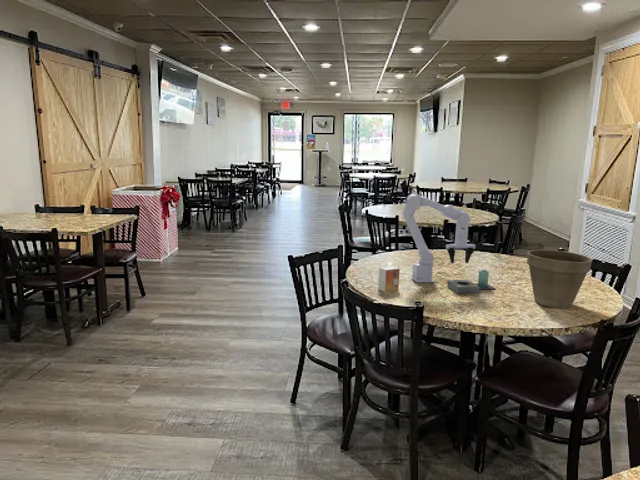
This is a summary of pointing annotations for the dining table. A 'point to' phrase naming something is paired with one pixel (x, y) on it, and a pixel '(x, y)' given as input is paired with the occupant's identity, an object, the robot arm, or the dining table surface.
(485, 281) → the teal and grey cylinder
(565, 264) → the plant pot
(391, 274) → the small box
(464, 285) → the housing
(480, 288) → the mat
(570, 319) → the dining table surface
